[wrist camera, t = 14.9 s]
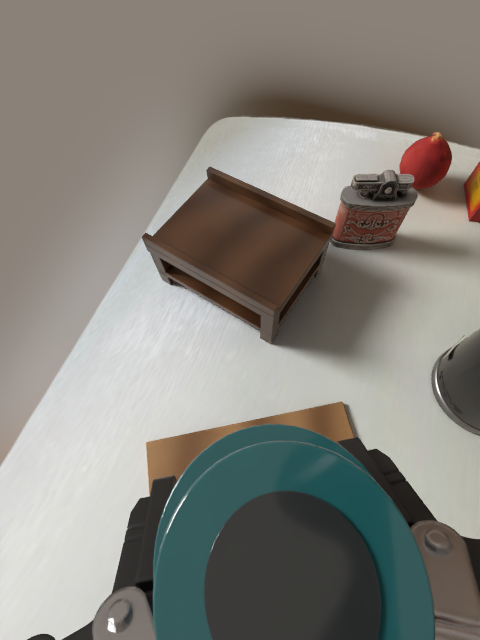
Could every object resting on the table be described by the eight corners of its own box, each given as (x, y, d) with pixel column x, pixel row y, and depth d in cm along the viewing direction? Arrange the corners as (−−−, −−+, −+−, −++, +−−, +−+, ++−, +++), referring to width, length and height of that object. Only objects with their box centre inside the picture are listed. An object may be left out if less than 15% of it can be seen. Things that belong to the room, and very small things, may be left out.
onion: (430, 171, 49) (460, 117, 42) (439, 202, 46) (472, 149, 39) (388, 171, 49) (411, 117, 42) (394, 202, 47) (419, 150, 40)
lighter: (390, 228, 45) (424, 163, 36) (395, 249, 43) (431, 186, 34) (328, 228, 45) (345, 164, 36) (330, 249, 44) (349, 187, 35)
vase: (249, 431, 18) (239, 338, 7) (353, 503, 16) (550, 528, 5) (179, 541, 16) (11, 652, 5) (289, 636, 14) (400, 1107, 3)
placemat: (341, 402, 35) (342, 401, 35) (398, 579, 29) (401, 580, 28) (147, 443, 35) (145, 442, 34) (161, 635, 28) (159, 637, 28)
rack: (322, 269, 43) (336, 223, 35) (271, 345, 39) (274, 311, 31) (217, 216, 47) (209, 166, 40) (160, 280, 43) (141, 236, 36)
